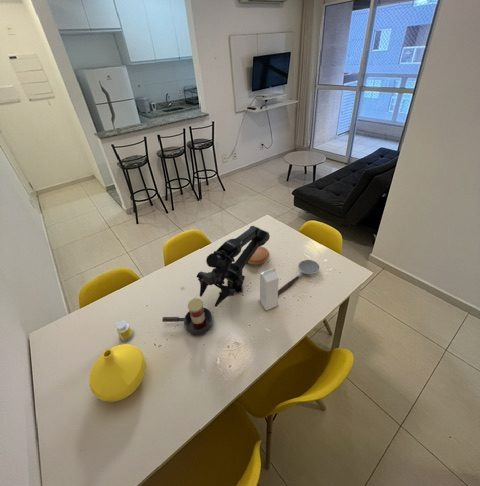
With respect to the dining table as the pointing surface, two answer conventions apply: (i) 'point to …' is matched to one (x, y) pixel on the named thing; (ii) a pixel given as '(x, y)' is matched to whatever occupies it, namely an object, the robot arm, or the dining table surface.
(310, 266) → the spoon
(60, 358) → the dining table surface
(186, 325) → the pan
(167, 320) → the pan handle
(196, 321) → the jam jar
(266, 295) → the milk
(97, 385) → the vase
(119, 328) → the supplement bottle
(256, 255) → the pie
